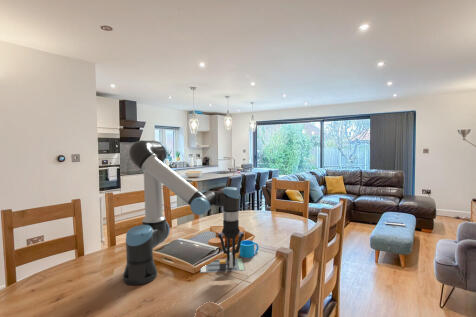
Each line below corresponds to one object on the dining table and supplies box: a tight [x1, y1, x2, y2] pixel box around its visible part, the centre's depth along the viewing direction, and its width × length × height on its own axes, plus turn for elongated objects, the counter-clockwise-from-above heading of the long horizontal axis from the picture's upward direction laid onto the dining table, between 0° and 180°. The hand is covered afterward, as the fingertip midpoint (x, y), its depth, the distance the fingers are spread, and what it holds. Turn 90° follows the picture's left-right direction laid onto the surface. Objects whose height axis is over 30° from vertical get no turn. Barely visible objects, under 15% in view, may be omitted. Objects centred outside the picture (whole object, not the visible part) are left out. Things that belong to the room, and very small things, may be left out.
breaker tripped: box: [220, 260, 226, 270], centre depth 129 cm, size 3×2×4 cm
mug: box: [239, 239, 260, 259], centre depth 148 cm, size 12×8×8 cm
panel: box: [199, 257, 246, 274], centre depth 134 cm, size 22×14×2 cm, turn 96°
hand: (230, 266), depth 130 cm, fingers closed
